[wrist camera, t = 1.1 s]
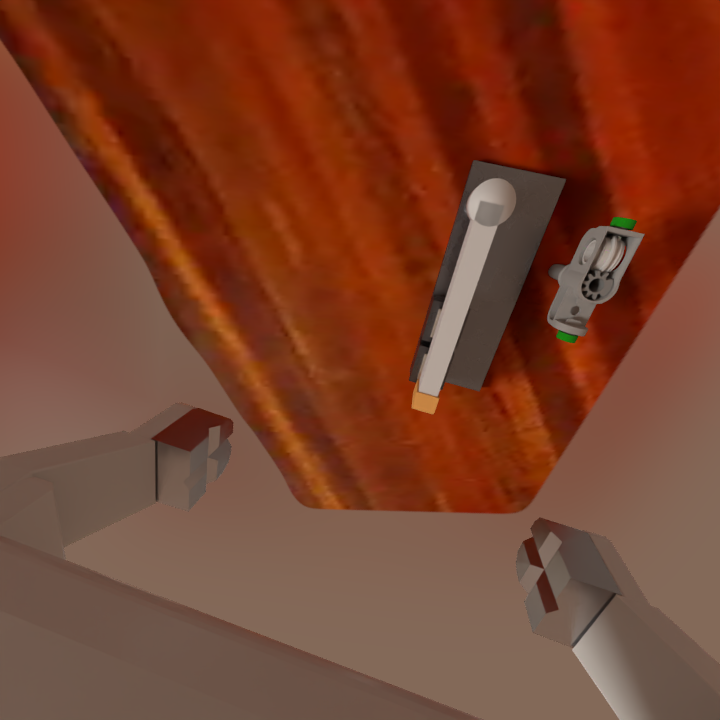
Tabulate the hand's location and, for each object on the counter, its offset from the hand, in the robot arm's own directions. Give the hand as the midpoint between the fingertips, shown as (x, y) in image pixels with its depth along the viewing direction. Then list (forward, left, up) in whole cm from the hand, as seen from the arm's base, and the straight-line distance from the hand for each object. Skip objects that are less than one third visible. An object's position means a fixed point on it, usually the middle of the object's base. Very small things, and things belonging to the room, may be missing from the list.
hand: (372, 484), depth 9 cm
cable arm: (0, +4, -28) cm, 28 cm away
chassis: (-1, +6, -34) cm, 34 cm away
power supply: (+3, +4, -33) cm, 33 cm away
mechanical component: (-5, +14, -34) cm, 37 cm away
